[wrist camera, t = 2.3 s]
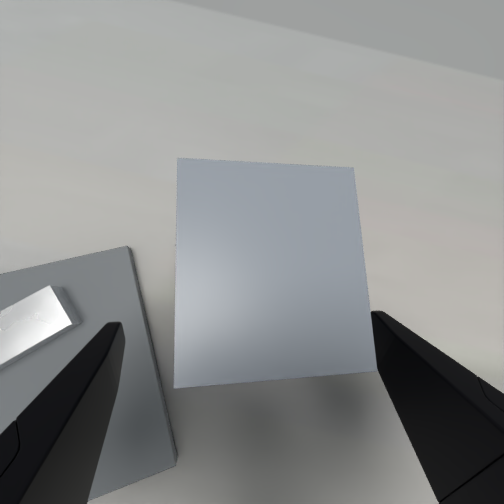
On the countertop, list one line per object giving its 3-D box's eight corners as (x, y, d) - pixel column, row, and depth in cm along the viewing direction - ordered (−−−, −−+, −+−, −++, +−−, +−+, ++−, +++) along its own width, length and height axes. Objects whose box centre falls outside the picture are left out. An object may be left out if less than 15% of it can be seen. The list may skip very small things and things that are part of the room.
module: (266, 333, 19) (377, 371, 7) (191, 337, 18) (174, 388, 6) (262, 241, 21) (351, 142, 8) (191, 241, 20) (177, 130, 8)
